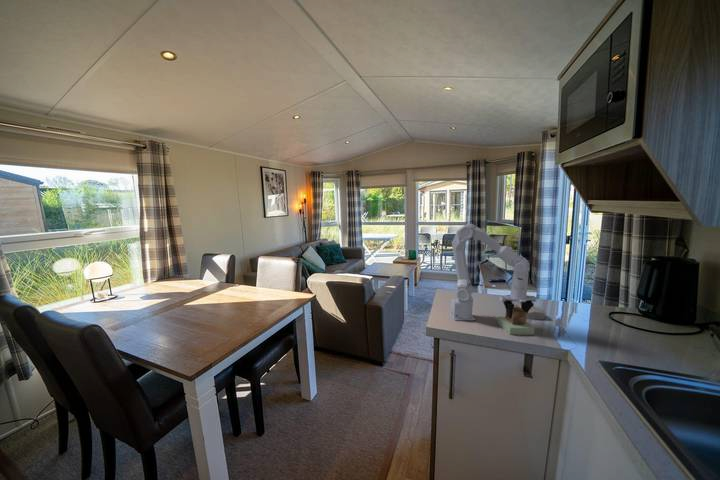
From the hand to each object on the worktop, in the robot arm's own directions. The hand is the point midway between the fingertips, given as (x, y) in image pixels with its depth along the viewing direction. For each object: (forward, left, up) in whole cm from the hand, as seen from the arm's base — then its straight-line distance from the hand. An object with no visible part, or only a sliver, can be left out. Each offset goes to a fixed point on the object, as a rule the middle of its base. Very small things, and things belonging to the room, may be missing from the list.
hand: (516, 317), depth 112 cm
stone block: (+14, +14, -6) cm, 20 cm away
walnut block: (0, 0, -2) cm, 2 cm away
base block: (0, 0, -5) cm, 5 cm away
